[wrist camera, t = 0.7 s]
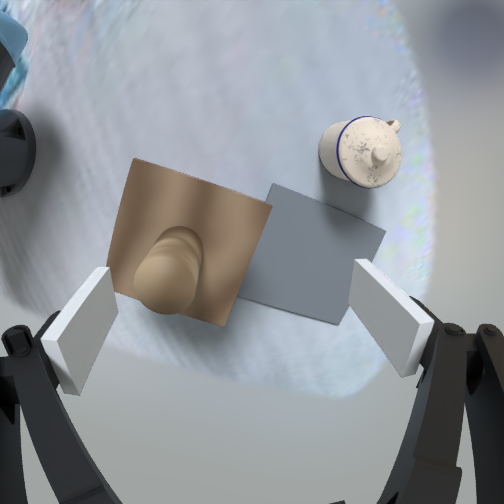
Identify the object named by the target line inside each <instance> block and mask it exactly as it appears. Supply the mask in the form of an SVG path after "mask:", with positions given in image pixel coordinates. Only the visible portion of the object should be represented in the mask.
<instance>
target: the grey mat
mask: <svg viewBox="0 0 504 504" xmlns="http://www.w3.org/2000/svg"><path fill="white" fill-rule="evenodd" d="M265 202H266V203H269V204H271V205H272V206H273V207H272V210H271V212H270V214H269V217H268V219H267V222H266V224H265V227H264V229H263V232H262V234H261V237H260V239H259V242H258V244H257V247H256V249H255V252H254V254H253V257H252V259H251V261H250V264H249V266H248V269H247V271H246V274H245V276H244V279H243V281H242V284H241V286H240V289H239V291H238V294H237V296H239V297H243V298H246V299H249V300H253V301H256V302H259V303H263V304H266V305H270V306H273V307H277V308H280V309H284V310H287V311H291V312H294V313H298V314H301V315H305V316H309V317H312V318H316V319H320V320H323V321H327V322H331V323H335V324H338V325H339V324H340V322H341V320H342V318H343V316H344V315H345V313H346V311H347V309H348V307H349V304H348V300H349V294H350V287H351V280H352V273H353V266H354V259H368V260H369V261H370V262H371V263H372V260H373V258H374V256H375V254H376V252H377V250H378V248H379V246H380V244H381V241H382V239H383V237H384V235H385V233H386V231H385V230H383V229H381V228H378V227H376V226H374V225H372V224H370V223H367V222H365V221H363V220H361V219H359V218H356V217H354V216H352V215H350V214H347V213H345V212H343V211H340V210H338V209H336V208H333V207H331V206H329V205H326V204H324V203H322V202H319V201H317V200H314V199H312V198H310V197H307V196H305V195H302V194H300V193H297V192H295V191H292V190H290V189H287V188H285V187H282V186H280V185H277V184H274V183H273V184H272V186H271V189H270V191H269V194H268V196H267V199H266V201H265Z"/></svg>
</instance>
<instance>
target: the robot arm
mask: <svg viewBox="0 0 504 504" xmlns="http://www.w3.org/2000/svg"><path fill="white" fill-rule="evenodd" d="M27 40H28V34H27V31H26V30H25V28H24V27H23V26H22V25H21V24H19V23H18V22H17V21H16V20H14V19H13V18H12V17H10V16H9V15H7V14H6V13H4V12H3V11H1V10H0V94H1V92H2V90H3V88H4V86H5V84H6V82H7V80H8V78H9V76H10V74H11V72H12V70H13V68H15V67H16V65H17V61H18V59H19V57H20V55H21V53H22V51H23V49H24V47H25V46H26V44H27ZM34 159H35V136H34V132H33V128H32V126H31V124H30V122H29V120H28V119H27V117H26V116H25V115H24V114H22V113H21V112H19V111H17V110H9V109H3V110H0V198H4V197H7V196H10V195H13V194H15V193H16V192H18V191H19V190H20V189H21V188H22V187H23V186H24V184H25V183H26V181H27V180H28V178H29V176H30V173H31V171H32V168H33V164H34ZM348 304H349V305H350V307H351V308H352V309H353V311H354V312H355V314H356V315H357V316H358V318H359V319H360V320H361V322H362V323H363V324H364V326H365V327H366V329H367V330H368V331H369V333H370V334H371V335H372V337H373V338H374V340H375V341H376V342H377V344H378V345H379V347H380V348H381V349H382V351H383V352H384V354H385V355H386V357H387V358H388V359H389V361H390V362H391V364H392V365H393V366H394V368H395V369H396V371H397V372H398V374H399V375H400V377H401V378H402V377H406V376H410V375H414V374H416V371H417V369H418V366H419V364H421V365H422V366H423V368H424V370H423V372H422V375H421V377H420V379H419V382H418V384H417V386H416V388H418V391H417V395H416V399H415V402H414V406H413V409H412V413H411V417H410V420H409V423H408V426H407V429H406V432H405V436H404V439H403V442H402V444H401V447H400V450H399V453H398V456H397V459H396V461H395V464H394V466H393V469H392V471H391V474H390V476H389V479H388V481H387V484H386V486H385V488H384V490H383V493H382V495H381V497H380V499H379V501H378V502H377V504H455V503H456V499H457V495H458V491H459V487H460V482H461V477H462V469H461V468H460V467H456V462H457V456H458V450H459V444H460V437H461V431H462V422H463V413H464V403H465V406H466V411H467V417H468V423H469V429H470V435H471V442H472V449H473V457H474V467H475V477H476V494H477V504H504V336H503V334H502V332H501V331H500V330H499V329H498V328H496V326H494V325H492V324H481V325H480V326H479V328H478V330H477V332H476V334H466V332H465V330H464V329H463V328H462V327H460V326H459V325H456V324H453V323H442V322H441V321H440V320H439V319H438V318H437V317H436V316H435V315H434V314H433V313H432V312H431V311H429V309H428V308H426V307H425V306H424V305H423V304H422V303H421V302H420V301H419V300H417V299H415V298H413V297H411V296H408V295H406V294H405V293H404V292H403V291H402V290H401V289H400V288H399V287H398V286H397V285H396V284H394V283H393V282H392V281H391V280H390V279H389V278H388V277H387V276H386V275H385V274H383V273H382V272H381V271H380V270H379V269H378V268H377V267H375V266H374V265H373V264H372V263H371V262H370V261H369V260H368V259H354V266H353V273H352V280H351V287H350V294H349V300H348ZM117 314H118V308H117V303H116V298H115V293H114V288H113V283H112V278H111V272H110V267H97V268H96V269H95V270H94V271H93V273H92V274H91V275H90V276H89V277H88V278H87V280H86V281H85V282H84V283H83V285H82V286H81V287H80V288H79V289H78V291H77V292H76V293H75V294H74V296H73V297H72V298H71V299H70V301H69V302H68V303H67V304H66V306H65V307H64V308H63V310H62V311H57V312H55V313H54V314H52V315H51V316H50V317H49V318H48V319H47V321H46V322H45V324H44V325H43V326H42V327H41V329H40V330H39V331H38V332H37V334H36V335H35V336H34V338H33V337H32V334H31V331H30V329H29V328H28V326H25V325H17V326H13V327H11V328H9V329H8V330H6V331H5V332H4V333H3V335H2V338H1V340H2V342H3V344H4V347H5V349H6V351H7V353H8V355H9V356H7V357H0V504H28V502H27V496H26V489H25V482H24V474H23V465H22V454H21V435H20V405H21V408H22V412H23V415H24V418H25V421H26V425H27V428H28V431H29V434H30V437H31V439H32V442H33V445H34V447H35V450H36V453H37V455H38V458H39V460H40V463H41V465H42V467H43V470H44V472H45V474H46V476H47V479H48V481H49V483H50V485H51V487H52V489H53V491H54V493H55V495H56V497H57V499H58V502H59V504H122V502H121V501H120V500H119V498H118V497H117V496H116V494H115V493H114V491H113V490H112V489H111V487H110V485H109V484H108V483H107V481H106V480H105V478H104V477H103V475H102V474H101V472H100V470H99V469H98V467H97V466H96V464H95V463H94V461H93V459H92V458H91V456H90V454H89V453H88V451H87V449H86V448H85V446H84V444H83V442H82V440H81V439H80V437H79V435H78V433H77V432H76V430H75V428H74V426H73V424H72V422H71V420H70V418H69V416H68V414H67V412H66V410H65V408H64V406H63V403H62V401H61V400H60V397H59V395H58V393H57V391H56V388H57V386H58V384H60V386H61V388H62V390H63V392H64V393H65V394H72V395H79V396H80V394H81V392H82V389H83V387H84V384H85V382H86V380H87V378H88V375H89V373H90V371H91V369H92V366H93V364H94V362H95V360H96V358H97V355H98V353H99V351H100V349H101V347H102V345H103V343H104V341H105V338H106V336H107V334H108V332H109V330H110V328H111V326H112V324H113V322H114V320H115V318H116V316H117ZM331 504H345V501H344V500H343V501H339V502H335V503H331Z"/></svg>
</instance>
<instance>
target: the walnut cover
mask: <svg viewBox="0 0 504 504" xmlns="http://www.w3.org/2000/svg"><path fill="white" fill-rule="evenodd" d="M272 207H273V206H272V205H271V204H269V203H266V202H264V201H261V200H258V199H255V198H253V197H250V196H247V195H244V194H242V193H239V192H236V191H233V190H230V189H228V188H225V187H222V186H219V185H216V184H213V183H210V182H207V181H205V180H202V179H199V178H196V177H193V176H190V175H187V174H184V173H181V172H178V171H175V170H172V169H169V168H165V167H162V166H159V165H156V164H153V163H150V162H147V161H143V160H140V159H137V158H134V159H133V161H132V164H131V167H130V170H129V174H128V177H127V181H126V184H125V188H124V191H123V195H122V199H121V202H120V206H119V210H118V214H117V218H116V223H115V227H114V231H113V236H112V240H111V245H110V249H109V254H108V259H107V265H106V267H110V272H111V278H112V283H113V288H114V292H117V293H120V294H123V295H126V296H128V297H131V298H134V299H137V300H140V301H141V303H142V304H143V305H144V306H146V307H147V308H148V309H150V310H152V311H154V312H156V313H160V314H176V313H179V314H182V315H186V316H189V317H192V318H195V319H199V320H202V321H205V322H209V323H212V324H215V325H219V326H222V327H224V326H225V323H226V321H227V318H228V316H229V313H230V311H231V308H232V306H233V303H234V301H235V299H236V296H237V294H238V291H239V289H240V286H241V284H242V281H243V279H244V276H245V274H246V271H247V269H248V266H249V264H250V261H251V259H252V257H253V254H254V252H255V249H256V247H257V244H258V242H259V239H260V237H261V234H262V232H263V229H264V227H265V224H266V222H267V219H268V217H269V214H270V212H271V210H272Z"/></svg>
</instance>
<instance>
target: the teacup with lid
mask: <svg viewBox="0 0 504 504" xmlns="http://www.w3.org/2000/svg"><path fill="white" fill-rule="evenodd" d="M400 128H401V125H400V123H399V121H398V120H390V121H387V122H384V121H382V120H381V119H378V118H376V117H371V116H363V117H358V118H356V119H354V120H350V121H344V122H338V123H335V124H333V125H332V126H330V127H329V128H328V129H327V130H326V131H325V132H324V133H323V135H322V137H321V140H320V144H319V155H320V159H321V161H322V163H323V165H324V167H325V168H326V169H327V170H328V171H329V172H330V173H331V174H332V175H334V176H336V177H338V178H341V179H345V180H348V181H351V182H352V183H354V184H356V185H358V186H360V187H363V188H377V187H380V186H383V185H385V184H386V183H388V182H389V181H390V180H392V179H393V177H394V176H395V175H396V173H397V171H398V169H399V167H400V164H401V158H402V150H401V145H400V141H399V139H398V136H397V135H396V133H397V132H398V131H399V130H400Z"/></svg>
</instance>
